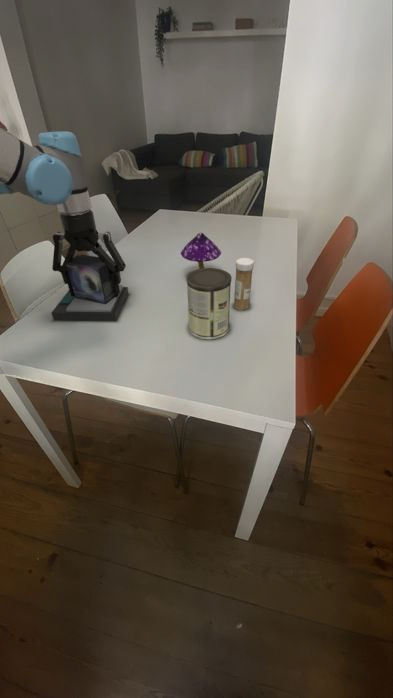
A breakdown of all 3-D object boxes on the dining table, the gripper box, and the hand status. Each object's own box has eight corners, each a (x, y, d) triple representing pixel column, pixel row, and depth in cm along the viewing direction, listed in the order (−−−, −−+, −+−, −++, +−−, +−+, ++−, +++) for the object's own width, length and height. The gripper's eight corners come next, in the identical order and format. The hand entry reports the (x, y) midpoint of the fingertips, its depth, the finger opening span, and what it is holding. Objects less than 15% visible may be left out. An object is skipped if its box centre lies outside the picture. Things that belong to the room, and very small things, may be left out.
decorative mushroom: (186, 270, 109) (185, 225, 100) (222, 272, 107) (224, 227, 98) (177, 286, 99) (174, 238, 90) (217, 289, 97) (218, 241, 88)
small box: (73, 298, 88) (62, 262, 81) (87, 288, 92) (78, 253, 86) (105, 305, 84) (97, 267, 78) (118, 294, 89) (112, 258, 83)
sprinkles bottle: (250, 310, 87) (255, 263, 79) (234, 311, 87) (237, 264, 79) (247, 302, 91) (252, 256, 83) (232, 302, 91) (234, 257, 83)
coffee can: (198, 314, 86) (197, 264, 78) (234, 322, 83) (237, 271, 74) (181, 334, 79) (178, 282, 70) (219, 344, 76) (221, 290, 67)
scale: (53, 320, 85) (50, 310, 83) (73, 293, 97) (70, 283, 95) (116, 321, 84) (114, 310, 82) (128, 294, 96) (127, 284, 94)
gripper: (129, 206, 77) (140, 287, 90) (33, 207, 78) (59, 287, 92) (122, 215, 71) (135, 301, 84) (18, 216, 72) (48, 300, 86)
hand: (95, 294), depth 88 cm, fingers closed on small box, 11 cm apart
